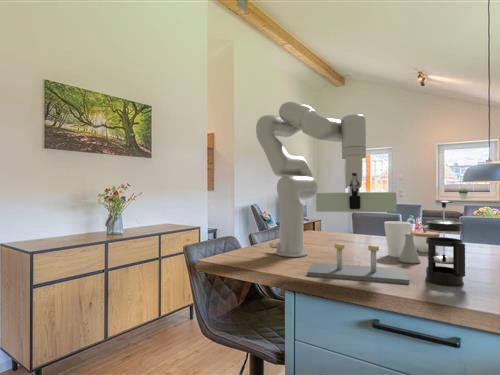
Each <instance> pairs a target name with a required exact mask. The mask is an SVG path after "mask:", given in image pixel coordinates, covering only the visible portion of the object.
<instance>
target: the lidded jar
mask: <svg viewBox="0 0 500 375" xmlns="http://www.w3.org/2000/svg"><path fill="white" fill-rule="evenodd" d="M410 234H414V236H413V240H414V245H415V248H416V251H418V252H421V253H428V244H427V243H426V238H428V237H441V236H440V233H439V232H438V231H431V230H430V231H429V230H428V231H427V228H423V230H413V231H410ZM438 247H439V246H436V249H437V248H438Z"/></svg>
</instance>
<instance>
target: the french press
mask: <svg viewBox="0 0 500 375" xmlns="http://www.w3.org/2000/svg"><path fill="white" fill-rule="evenodd" d="M435 203H441V207H442V208H443V209H442V211H443V212H442V219H435V220H426V221H425V222H426V224H427V230H428V231H429V230H430V231H433V232H442V236H439V237H428V238H426V243H427V244H428V252H427V254H428V255H427V260H428V261H427V262H428V265H427V267H426V268H425V271H426V272H425V273H426V274H425V281H426V282H429V283H430V284H433V285H437V286H443V287H462V286H464V284H465V282H464V280H463V279H464V277H466V244H465V243H463V242H464V241H463V240H462V239H459V238H455V237H446V234H445V232H448V233H450V232H453V233H455V232H461V231H462V227H461V226H462V225H463V222H460V221H454V220H447V219H446V216H445V215H446V214H445V213H446V212H445V211H446V210H445V208H447V203H448V204H449V203H453V201H452V200H436V201H435ZM436 246H438V247H442V252H443V253H442V255H436V253H437V252H436V249H437V248H436ZM446 247H448V248H452V250H453V251H452V254H453V255H452V256H453V257H451V256H446V252H445V251H446V250H445V249H446ZM436 264H441V266H439V265H438V266H437V265H436ZM442 265H452V267H450V266H442Z"/></svg>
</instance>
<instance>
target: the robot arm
mask: <svg viewBox="0 0 500 375" xmlns="http://www.w3.org/2000/svg"><path fill="white" fill-rule="evenodd" d="M366 122H367V121H366V117H365V116H364V115H363V114H357V113H356V114H355V113H353V114H348V115H344V116H343V117H342V119H340V118H339V119H337V118H332V117H325V116H322V115H319V114H318V113H317V111H316V110H315V109H314V108H312V107H311V106H310V105H308V104H306V103H302V102H301V103H300V102H295V101H287V102H284V103H282V104H281V105H280V107H279V108H278V115H274V114H273V115H270V114H269V115H268V114H267V115H263V116H261V117H260V118H258V119H257V122H256V124H255V125H256V126H255V133H256V135H255V136H256V140H257V141H258V143H259V145H260V147H261V148H262V149H263V152H264V154H265V156H266V158H267V161H268V162H269V167H270V168H271V170H272V172H273V174H274V175H275V176H277V177H280V178H279V180H278V181H277V184H276V192H277V197H278V205H279V206H278V207H279V209H278V210H279V215H278V216H279V241H278V242H270V243H269V249H276V250H275V254H276V255H277V256H280V257H287V258H299V257H306V256H307V255H308V250H306V249H304V207H303V205H302V203H301V201H300V200H302V199H303V200H304V199H305V200H307V199H312V198H314V197H316V193H318V191H319V189H318V182H317V180H316V177H315V175H314V173H313V171H312V169H311V167H310V165H309V164H308V162H307V160H306V159H305V157H303V156H300V155H298V154H290V153H288V151H287V150H286V148H285V145H284V143H283V142H282V141H281V140H280V139H279V138H278V137H284V138H288V137H292V136H294V135H295V134H297V133H299V132H300V131H302V133H303V134H305V135H307V136H309V137H312V138H314V139H317V140H319V141H320V140H321V141H329V142H336V143H341V160H342V159H343V160H345V161H344V184H345V185H344V186H345V189H348V187H349V193H350V196H349V204H350V209H360V196H359V193H360V188H362V182H363V159H366V158H367V143H366V142H367V137H366V136H367V131H366V130H367V128H366ZM357 195H358V196H357Z"/></svg>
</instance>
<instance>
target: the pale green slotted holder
mask: <svg viewBox="0 0 500 375" xmlns="http://www.w3.org/2000/svg"><path fill="white" fill-rule="evenodd" d="M349 196H350V192H317V193H316V195H315V204H316V205H315V207H316V208H315V211H316V212H317V213H319V212H320V213H321V212H323V213H326V212H330V213H331V212H333V213H335V212H336V213H349V212H350V213H353V212H354V213H397V211H398V210H397V208H398V207H397V191H394V192H393V191H392V192H390V191H387V192H386V191H382V192H381V191H379V192H378V191H377V192H376V191H375V192H370V191H369V192H365V191H364V192H359V196H360V209H350V204H349ZM357 196H358V195H357Z"/></svg>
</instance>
